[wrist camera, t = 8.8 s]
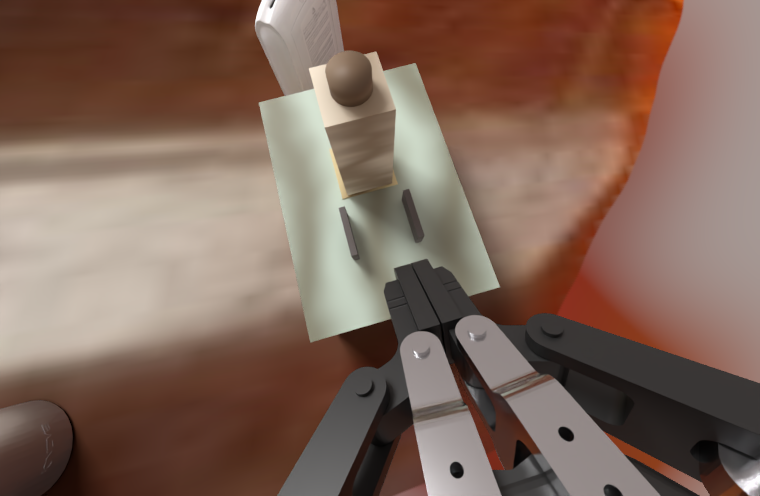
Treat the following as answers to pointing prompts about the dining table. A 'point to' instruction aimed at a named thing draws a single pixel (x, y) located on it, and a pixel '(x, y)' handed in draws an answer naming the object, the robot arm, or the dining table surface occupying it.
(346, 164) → the wooden knobbed block
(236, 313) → the dining table surface
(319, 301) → the rectangular block
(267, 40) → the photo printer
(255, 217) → the dining table surface
